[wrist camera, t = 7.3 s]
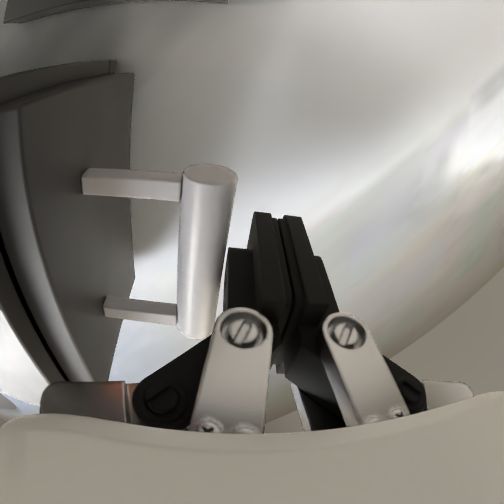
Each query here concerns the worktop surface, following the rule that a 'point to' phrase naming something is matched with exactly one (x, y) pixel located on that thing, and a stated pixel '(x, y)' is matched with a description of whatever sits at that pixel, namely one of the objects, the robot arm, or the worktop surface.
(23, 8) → the block
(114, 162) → the drawer
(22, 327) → the dark grey cabinet
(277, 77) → the worktop surface
